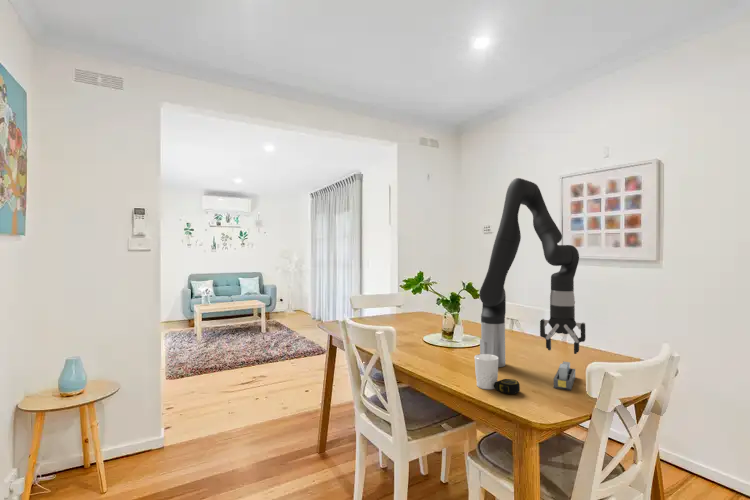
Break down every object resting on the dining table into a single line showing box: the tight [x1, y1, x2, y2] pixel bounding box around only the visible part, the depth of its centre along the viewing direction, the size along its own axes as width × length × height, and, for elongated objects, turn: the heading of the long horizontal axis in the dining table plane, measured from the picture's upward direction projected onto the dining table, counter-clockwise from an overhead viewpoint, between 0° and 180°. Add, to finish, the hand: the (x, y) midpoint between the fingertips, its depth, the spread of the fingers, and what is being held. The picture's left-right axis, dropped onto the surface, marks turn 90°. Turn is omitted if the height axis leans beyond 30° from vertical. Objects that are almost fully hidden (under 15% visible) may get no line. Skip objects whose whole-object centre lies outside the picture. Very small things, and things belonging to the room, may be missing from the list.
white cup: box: [474, 353, 499, 390], centre depth 131 cm, size 8×8×10 cm
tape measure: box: [493, 378, 521, 395], centre depth 126 cm, size 7×7×4 cm
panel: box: [558, 363, 568, 381], centre depth 131 cm, size 5×2×6 cm, turn 149°
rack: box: [553, 361, 576, 392], centre depth 133 cm, size 16×5×6 cm, turn 148°
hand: (562, 351), depth 130 cm, fingers open, 7 cm apart
